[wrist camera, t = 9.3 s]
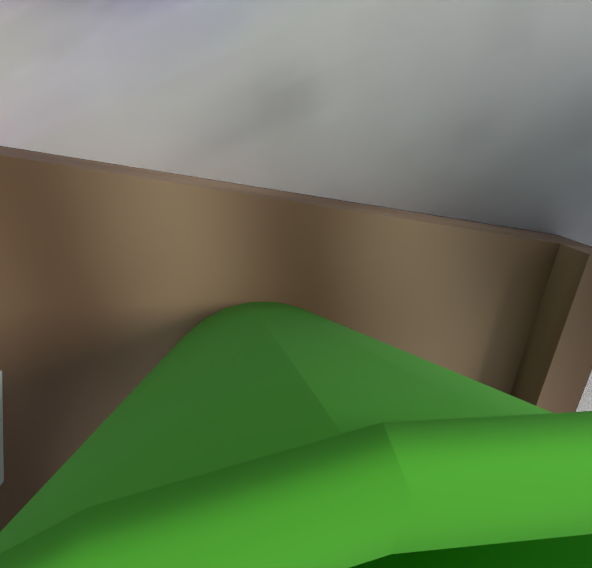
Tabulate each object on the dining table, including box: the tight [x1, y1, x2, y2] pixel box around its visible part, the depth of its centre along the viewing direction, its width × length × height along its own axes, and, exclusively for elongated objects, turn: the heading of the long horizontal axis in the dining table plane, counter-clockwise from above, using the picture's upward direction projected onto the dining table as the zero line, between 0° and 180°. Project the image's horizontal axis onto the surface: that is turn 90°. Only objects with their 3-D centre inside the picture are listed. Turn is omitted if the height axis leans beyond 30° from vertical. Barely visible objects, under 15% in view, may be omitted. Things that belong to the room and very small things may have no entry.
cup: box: [0, 302, 592, 568], centre depth 8 cm, size 9×9×11 cm
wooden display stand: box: [0, 146, 592, 532], centre depth 11 cm, size 17×14×10 cm
